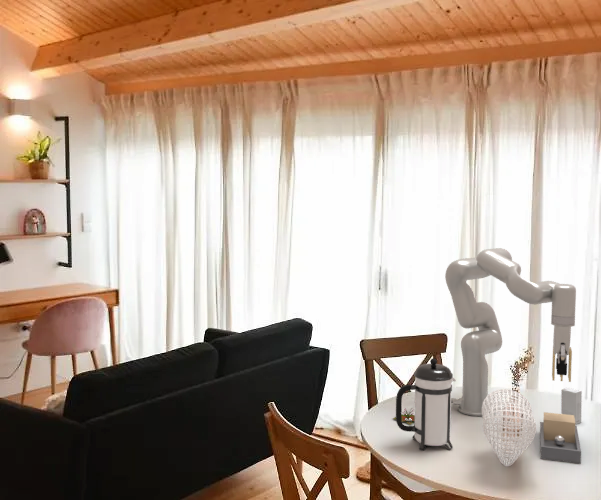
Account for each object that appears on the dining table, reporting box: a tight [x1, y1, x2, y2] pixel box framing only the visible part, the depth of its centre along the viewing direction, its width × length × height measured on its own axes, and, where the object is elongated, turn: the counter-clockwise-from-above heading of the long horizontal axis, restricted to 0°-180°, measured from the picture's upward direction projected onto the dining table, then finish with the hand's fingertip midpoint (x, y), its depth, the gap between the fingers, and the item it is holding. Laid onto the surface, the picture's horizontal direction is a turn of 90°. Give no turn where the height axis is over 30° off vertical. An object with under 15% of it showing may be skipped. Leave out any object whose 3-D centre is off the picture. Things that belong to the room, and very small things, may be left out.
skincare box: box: [560, 387, 583, 425], centre depth 253 cm, size 6×4×12 cm
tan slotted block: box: [551, 346, 573, 383], centre depth 233 cm, size 6×6×11 cm
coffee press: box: [395, 357, 457, 452], centre depth 230 cm, size 17×16×30 cm
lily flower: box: [392, 408, 415, 426], centre depth 256 cm, size 12×12×5 cm
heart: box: [481, 388, 537, 467], centre depth 213 cm, size 28×16×22 cm, turn 167°
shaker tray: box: [539, 411, 582, 465], centre depth 229 cm, size 12×24×8 cm, turn 161°
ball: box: [554, 435, 565, 446], centre depth 228 cm, size 3×3×3 cm
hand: (561, 371), depth 233 cm, fingers closed on tan slotted block, 5 cm apart
